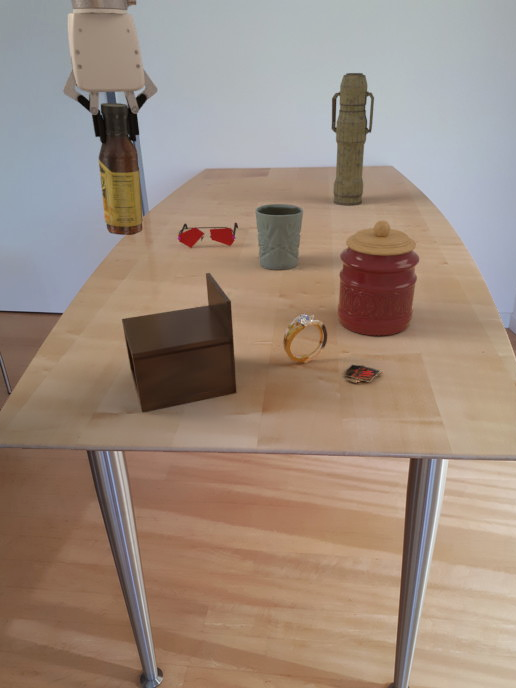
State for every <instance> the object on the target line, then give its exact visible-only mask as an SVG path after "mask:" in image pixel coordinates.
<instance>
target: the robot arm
mask: <svg viewBox="0 0 516 688" xmlns="http://www.w3.org/2000/svg"><path fill="white" fill-rule="evenodd" d="M70 2H71V8H72V12H69V13H67V37H68V46H69V55H70V63H71V70H70V72H69V75H68V77H67V79H66V82H65V84H64V86H63V89H62V93H63V94H64V95H65V96H67V97H69V98H70V99H72V100H74V101H75V102H77V103H79V105H81V107H83V108H84V109H86V111H88V112H89V113H90V114H91V118H92V126H93V131H94V136H95V138H99V141H100V143H101V144H102V143H105V142H106V136H105V129H104V122H103V116H102V114H101V109H99V105H100V101H99V100H100V99H99V98H100V93H110V92H111V93H113V92H114V93H119V92H120V93H121V92H122V93H123V95H124V98H125V100H126V101H125V102H126V105H127V106H128V117H127V120H128V131H129V135H128V136H129V138H130V140H131V141H132V143H134V142H137V136H140V127H139V119H138V113H139V111H140V110H141V108H143V106H144V105H145V103H146V102H147V101H148V100H149V99H151V98H152V97H153V96H154V95H156V94H157V92H158V87H157V86H156V84H155V82H154V81H153V80H152V79H151V77H150V76H149V74H148V73H147V71H146V70H145V69H144V65H143V59H142V52H141V46H140V42H139V41H140V40H139V36H138V31H137V28H136V24H135V21H134V17H133V15H132V14H129V13H128V9H129V7H132V6H137V0H70ZM76 87H77V89H79V90H80V91H83V92H86V93H88V98H87V97H86V96H85V95H83V94H82V93H80V92H78V91H77V90H76ZM142 89H143V90H142ZM140 90H142V91H141V92H140V93H138V95H137V96H136V94H135V92H138V91H140Z"/></svg>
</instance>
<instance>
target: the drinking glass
mask: <svg viewBox="0 0 516 688" xmlns="http://www.w3.org/2000/svg"><path fill="white" fill-rule="evenodd" d="M303 216H304V210H303V208H302V207H300V206H297V205H294V204H287V203H286V204H285V203H271V204H264V205H260V206H258V207H256V208H255V220H256V229H257V233H258V234H257V242H258V243H257V245H258V247H259V250H258V256H259V257H258V258H259V265H260V266H261V267H262V268H264V269H266V270H271V271H286V270H291V269H294V268H295V267H297V265H299V264H298V263H299V256H300V255H299V254H300V251H299V249H300V243H301V231H302V227H303Z"/></svg>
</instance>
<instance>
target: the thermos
mask: <svg viewBox="0 0 516 688" xmlns="http://www.w3.org/2000/svg"><path fill="white" fill-rule="evenodd" d="M367 97H370V109H369V110H370V111H369V122H368V118H367V110H366V107H367ZM337 98H339V110H338V116H337ZM374 104H375V96H374V95H373V93H372V92H369V91H368V81H367V77H366V74H364V73H363V72H348V73H345V74H343V76H342V79H341V82H340V86H339V92H335V93H334V95H333V96H332V97H331V130H332V131H333V132H334V133H335V143H336V144H337V145H336V167H335V180H334V182H333V203H334V204H335V205H339V206H357V205H360V204H362V203H363V199H362V198H363V194H364V179H363V170H364V169H363V168H364V154H365V144H366V142H367V135H368V134H371V133H372V129H373V120H374V119H373V118H374V106H375V105H374ZM368 123H369V124H368Z"/></svg>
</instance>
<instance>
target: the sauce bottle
mask: <svg viewBox="0 0 516 688" xmlns="http://www.w3.org/2000/svg"><path fill="white" fill-rule="evenodd" d="M100 114H101V115H102V116H103V122H104V129H105V136H106V142H105V143H101V146H100V149H99V154H98V167H99V176H100V187H101V196H102V206H103V216H104V222H105V223H106V229H107V231H108V233H110V234H113V235H121V236H125V235H126V236H133V235H137V234H138V233H141V232H142V231H143V229H144V228H143V221H144V219H143V203H142V202H143V201H142V187H141V175H140V167H139V155H138V150H137V147H136V146H135V144H134V142H133V141H131V140H130V138H129V131H128V120H127V117H128V104H127V103H126V104H125V103H121V102H103V103H100Z"/></svg>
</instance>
